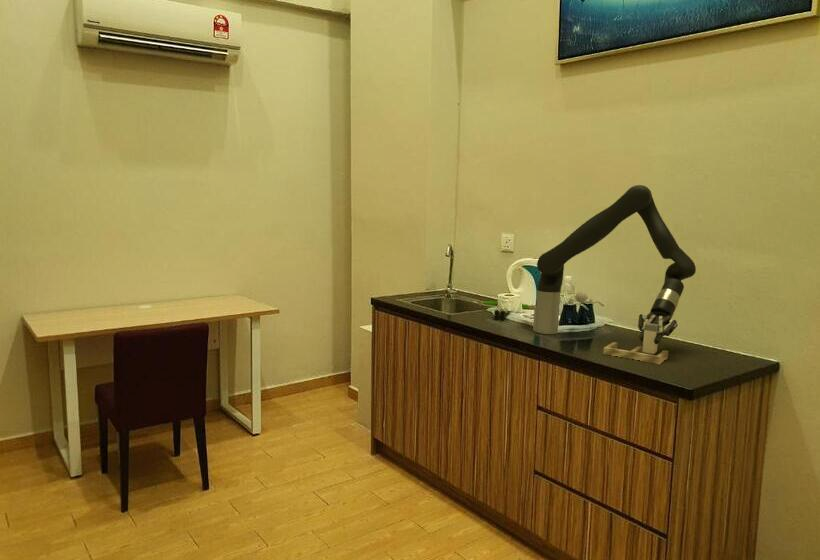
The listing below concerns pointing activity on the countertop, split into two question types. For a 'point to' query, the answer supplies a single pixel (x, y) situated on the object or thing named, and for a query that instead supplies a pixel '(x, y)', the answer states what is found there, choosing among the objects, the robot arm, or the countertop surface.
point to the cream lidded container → (650, 338)
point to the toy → (581, 298)
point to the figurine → (502, 311)
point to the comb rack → (635, 354)
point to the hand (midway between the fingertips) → (648, 341)
